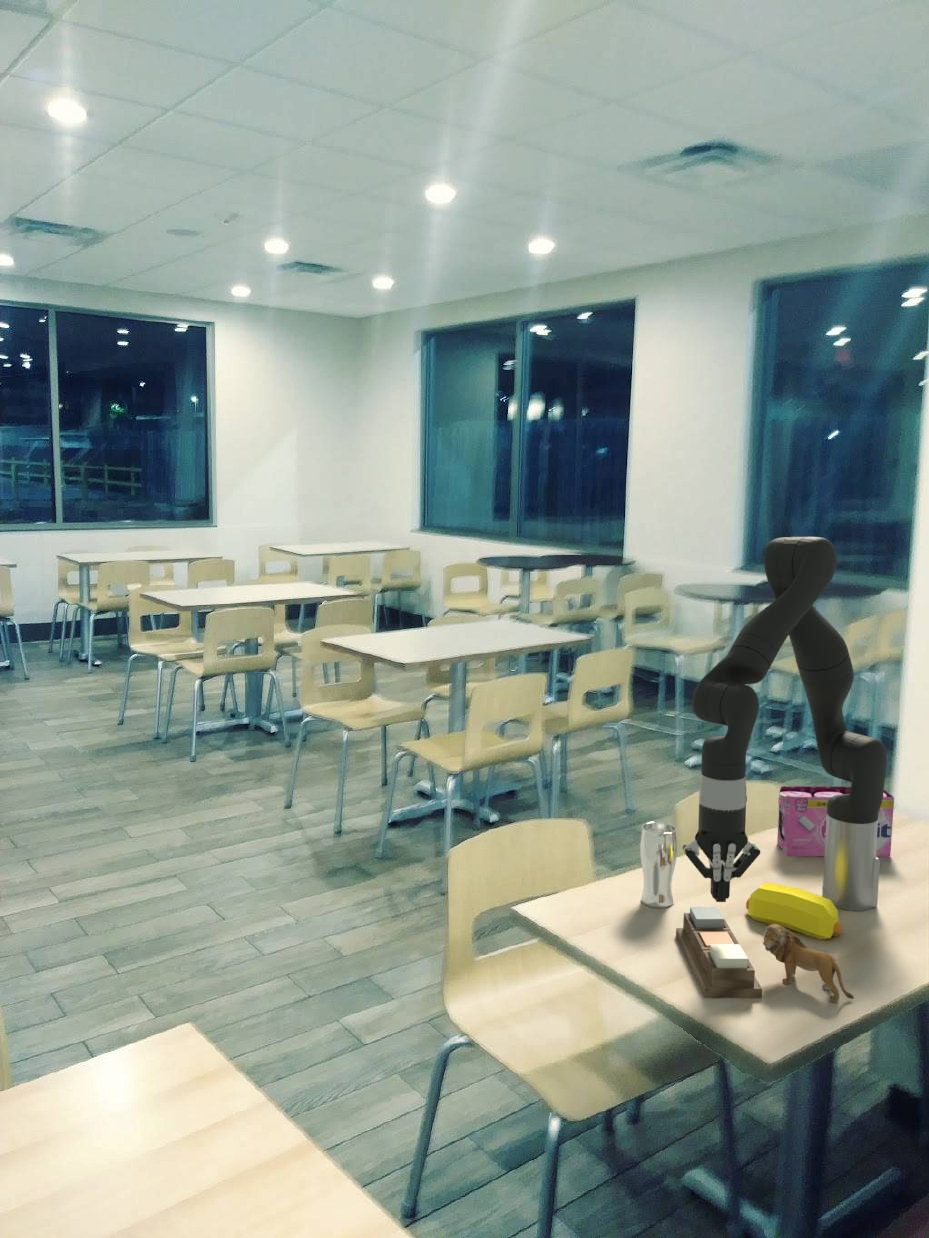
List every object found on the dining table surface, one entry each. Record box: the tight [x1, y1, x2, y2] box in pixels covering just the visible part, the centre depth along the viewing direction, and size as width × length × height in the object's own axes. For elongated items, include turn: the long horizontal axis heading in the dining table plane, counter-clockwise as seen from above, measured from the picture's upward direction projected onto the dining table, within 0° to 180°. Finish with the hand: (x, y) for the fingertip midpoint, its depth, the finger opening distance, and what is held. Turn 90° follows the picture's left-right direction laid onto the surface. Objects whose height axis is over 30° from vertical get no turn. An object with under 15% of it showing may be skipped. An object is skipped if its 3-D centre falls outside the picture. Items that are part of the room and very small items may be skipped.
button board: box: [675, 912, 763, 999], centre depth 163 cm, size 9×21×4 cm, turn 0°
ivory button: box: [710, 943, 749, 968], centre depth 156 cm, size 5×5×3 cm
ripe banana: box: [745, 881, 843, 940], centre depth 178 cm, size 18×7×8 cm
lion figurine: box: [762, 924, 855, 1004], centre depth 156 cm, size 15×5×9 cm, turn 53°
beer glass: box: [639, 821, 678, 909], centre depth 187 cm, size 7×7×15 cm
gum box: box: [776, 785, 895, 858], centre depth 214 cm, size 24×8×14 cm, turn 89°
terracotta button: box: [699, 932, 734, 947], centre depth 163 cm, size 5×5×3 cm
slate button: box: [689, 906, 725, 928], centre depth 170 cm, size 5×5×3 cm
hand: (719, 899), depth 162 cm, fingers closed
